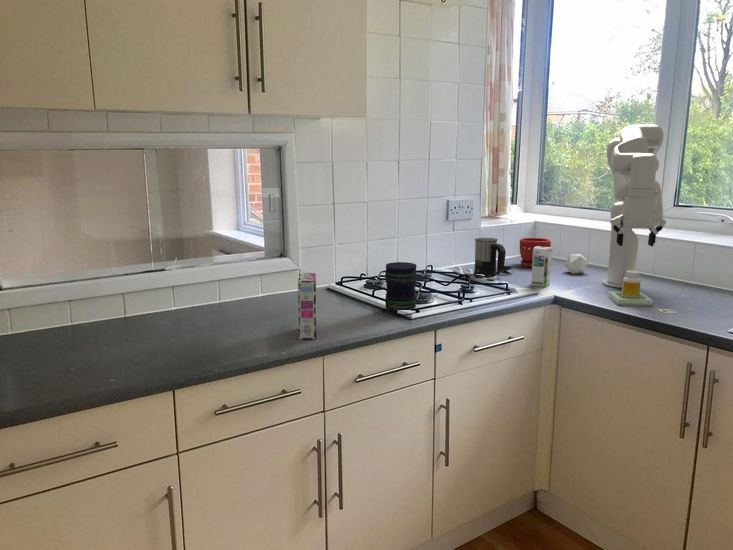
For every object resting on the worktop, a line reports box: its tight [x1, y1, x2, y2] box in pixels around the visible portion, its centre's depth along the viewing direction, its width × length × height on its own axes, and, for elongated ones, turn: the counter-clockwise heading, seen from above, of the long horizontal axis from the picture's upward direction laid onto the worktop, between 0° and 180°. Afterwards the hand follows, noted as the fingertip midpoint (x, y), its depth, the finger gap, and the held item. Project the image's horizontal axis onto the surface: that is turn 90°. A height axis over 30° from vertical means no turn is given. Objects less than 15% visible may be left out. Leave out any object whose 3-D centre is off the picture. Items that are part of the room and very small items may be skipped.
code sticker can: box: [657, 308, 677, 314], centre depth 181 cm, size 4×4×1 cm
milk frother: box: [473, 237, 515, 277], centre depth 235 cm, size 14×16×15 cm
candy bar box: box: [297, 272, 318, 341], centre depth 159 cm, size 11×5×16 cm, turn 5°
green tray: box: [607, 291, 654, 307], centre depth 193 cm, size 11×11×2 cm
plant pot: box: [519, 237, 552, 268], centre depth 251 cm, size 13×13×12 cm
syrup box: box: [530, 246, 553, 288], centre depth 215 cm, size 6×6×14 cm
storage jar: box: [384, 261, 418, 316], centre depth 181 cm, size 10×10×15 cm
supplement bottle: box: [621, 270, 641, 299], centre depth 192 cm, size 5×5×10 cm
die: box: [564, 253, 589, 275], centre depth 237 cm, size 8×9×10 cm
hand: (635, 245), depth 189 cm, fingers open, 9 cm apart
